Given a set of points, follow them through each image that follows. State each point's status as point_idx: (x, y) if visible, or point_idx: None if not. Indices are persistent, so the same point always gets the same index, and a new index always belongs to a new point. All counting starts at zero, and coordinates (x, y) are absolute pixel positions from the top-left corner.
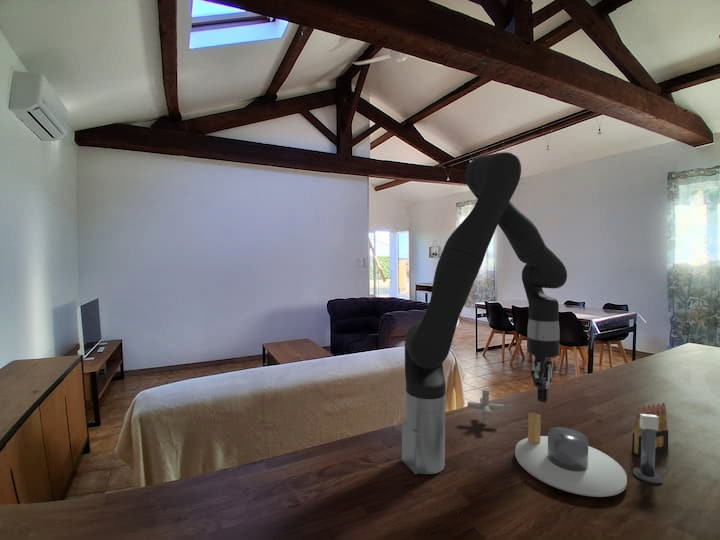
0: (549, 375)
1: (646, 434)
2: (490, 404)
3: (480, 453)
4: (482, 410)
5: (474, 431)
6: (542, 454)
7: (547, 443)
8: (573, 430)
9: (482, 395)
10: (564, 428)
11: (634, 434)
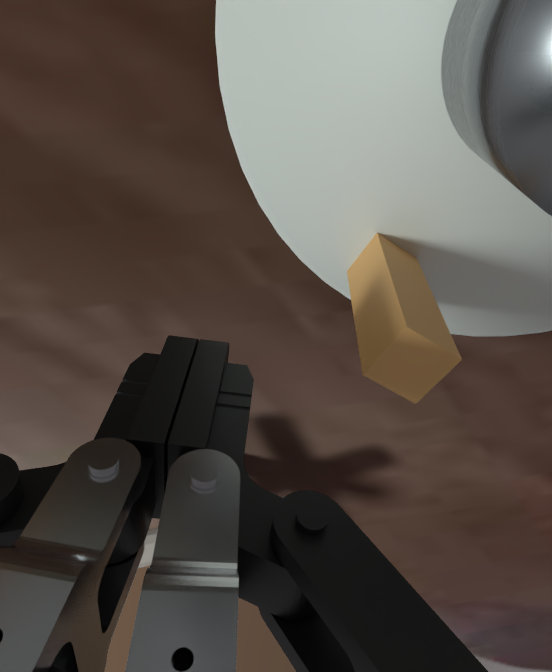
0: (136, 655)
1: None
2: None
3: (528, 427)
4: None
5: (335, 477)
6: (534, 203)
7: (368, 192)
8: (538, 14)
9: None
10: (524, 108)
11: None
